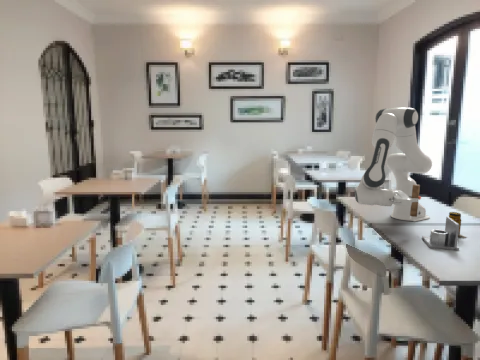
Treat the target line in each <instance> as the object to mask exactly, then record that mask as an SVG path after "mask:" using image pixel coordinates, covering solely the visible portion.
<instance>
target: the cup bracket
mask: <svg viewBox="0 0 480 360" xmlns="http://www.w3.org/2000/svg"><path fill="white" fill-rule="evenodd" d="M444 226H445V227H444V230H442V229H436V228H435V229H431V230H430V235H429V236H425V235H424V236H423V235H422V236H421V239H422V240H423V241H424V242H426V243H425V244H426V245H427V246H428V247H429V248H430V249H436V250H437V249H439V250H449V251H450V250H451V251H460V247H459V246H458V241H459V238H458V233H459V224H458V223H456V222H455V221H454V220H452V219H451V218H449V216H446V218H445V225H444Z"/></svg>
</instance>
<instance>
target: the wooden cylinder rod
mask: <svg viewBox="0 0 480 360" xmlns="http://www.w3.org/2000/svg"><path fill="white" fill-rule="evenodd" d="M416 184H417V183H416ZM416 184H414V185H413V188H412V198H418V199H419V196H420V187H421V185H420V184H417V185H416ZM418 202H419V201H418ZM418 202H412V204H411V210H410V216H412V217H417V210H418Z"/></svg>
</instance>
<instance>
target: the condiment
mask: <svg viewBox="0 0 480 360" xmlns="http://www.w3.org/2000/svg"><path fill="white" fill-rule="evenodd" d="M448 217H449V218H451V219H452V220H454V221H455V222H456V223H458V224H459V233H458V239H459V238H461V239H463V238H466V236H464V235H463V234H461V227H462V214H461V213H460V212H457V211H456V212H455V211H450V212H449V213H448Z"/></svg>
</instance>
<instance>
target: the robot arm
mask: <svg viewBox="0 0 480 360" xmlns="http://www.w3.org/2000/svg"><path fill="white" fill-rule="evenodd" d="M418 121H419V113H418V111H417V110H416V109H415V108H414V107H413V108H412V107H393V108H382V109H380V110H378V111H377V113H376V115H375V125H374V128H373V132H372V135H371V145H372V147H373V148H374V150H373V155H372V159H371V163H370V165H369V167H368V168H367V169H366V170H365V172H364V173H363V175H362V177H361V179H360V182H359V183H358V185H357V187H356V188H355V190H354V198H355V201H356V202H357V203H358V204H359V205H364V206H380V207H392V206H393V208H392V212H391V215H390V217H392V218H393V219H397V220H400V221H401V220H402V221H409V222H419V221H424V220H429V219H431V217H430V216H429V215H428V214H427V213H426V212H427V210H426V208H425V207H424V206H423V205H422V204H421V203H420V202H419V201H420V200H421V199H422V196H420V195H419V199H418V198H412V188H413V185H414V184H416V185H418V184H417V181H415V179H413V178H412V177H411V176H410V174H409V173H411V174H427V173H428V172H429V171H430V170H432V169H431V168H432V166H433V161H432V159H431V157H430V156H428V155H427V154H425V153H424V152H423V151H422V150H421V147H420V146H419V144H418V138H417V130H416V125H417V123H418ZM394 141H395V146H396V148H397V149H398V150H399V151H401V152H397V153H390V154H388V152H389V150H390V149H391V147H392V146H393V143H394ZM402 152H403V153H402ZM387 156H388V157H387ZM385 165H386V166H387V168H388V170H390V171H391V172H392V174H393V176H394V179H395V189H392V188H381V186H382V185H384V183H385V182H386V170H385ZM412 202H418V210H417V217H412V216H410V210H411V204H412Z"/></svg>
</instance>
